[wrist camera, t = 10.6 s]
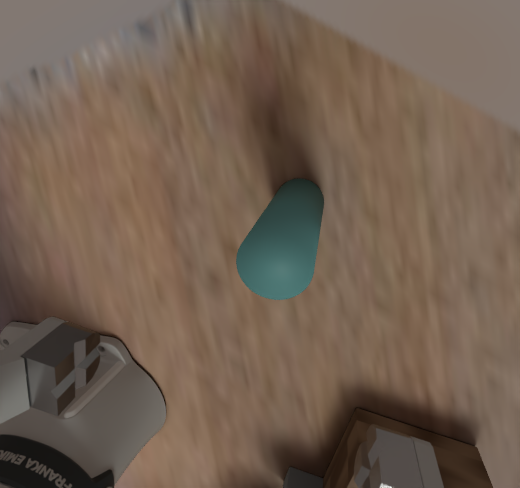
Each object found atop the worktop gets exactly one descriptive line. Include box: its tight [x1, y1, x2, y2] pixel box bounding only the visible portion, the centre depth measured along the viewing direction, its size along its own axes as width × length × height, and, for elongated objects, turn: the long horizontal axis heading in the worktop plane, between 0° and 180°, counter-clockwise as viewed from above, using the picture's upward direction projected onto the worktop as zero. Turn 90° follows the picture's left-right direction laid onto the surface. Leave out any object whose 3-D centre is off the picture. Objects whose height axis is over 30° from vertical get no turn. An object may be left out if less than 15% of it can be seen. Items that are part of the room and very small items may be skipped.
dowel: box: [236, 178, 324, 300], centre depth 23 cm, size 4×4×12 cm
